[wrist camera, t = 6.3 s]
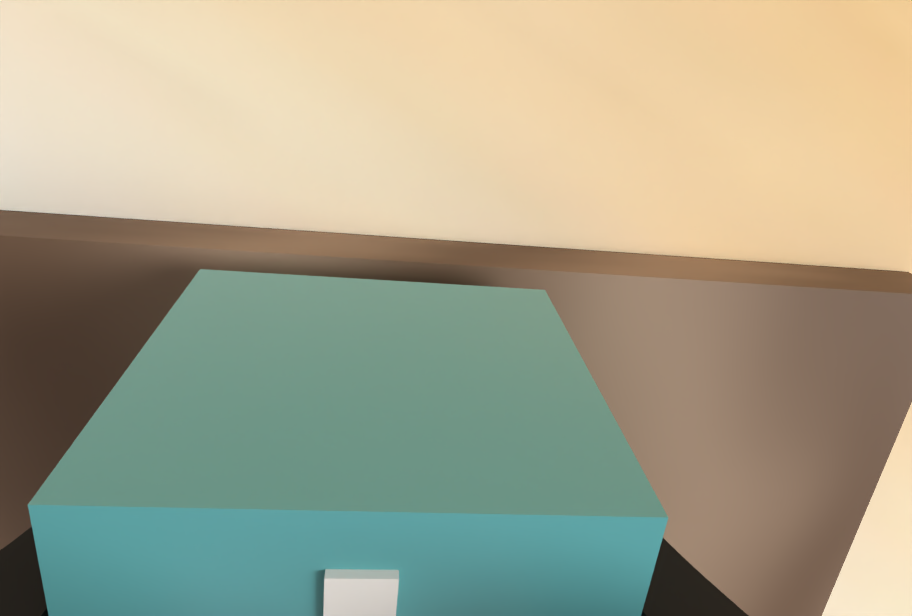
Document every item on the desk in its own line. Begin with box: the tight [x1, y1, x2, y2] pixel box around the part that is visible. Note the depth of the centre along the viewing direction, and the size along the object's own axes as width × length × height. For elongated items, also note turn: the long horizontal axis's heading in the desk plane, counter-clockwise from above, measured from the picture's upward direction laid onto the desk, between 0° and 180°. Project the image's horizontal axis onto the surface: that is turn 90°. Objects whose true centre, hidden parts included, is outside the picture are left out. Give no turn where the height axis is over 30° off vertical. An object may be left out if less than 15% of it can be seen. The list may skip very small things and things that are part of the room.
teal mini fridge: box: [28, 269, 668, 616], centre depth 9 cm, size 5×6×5 cm
